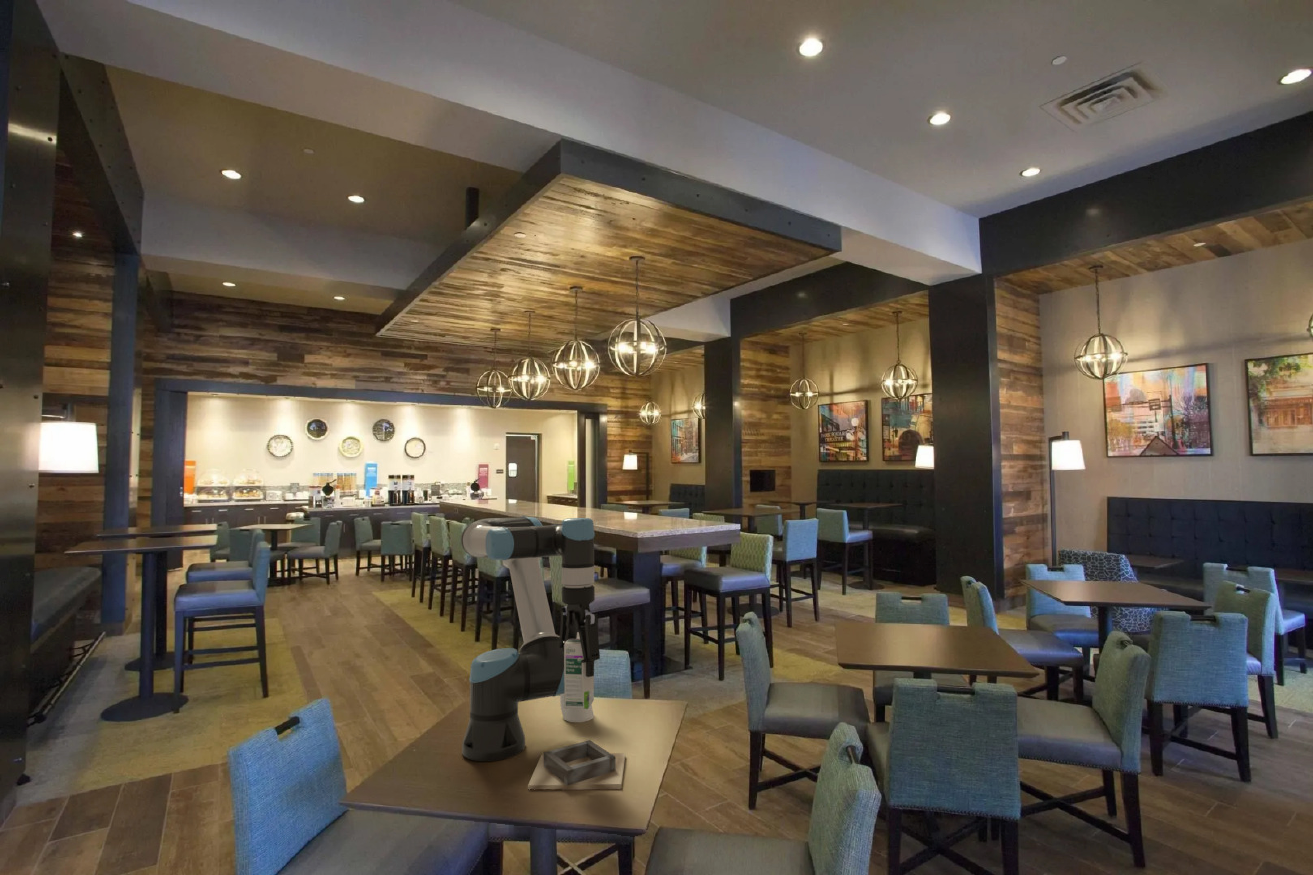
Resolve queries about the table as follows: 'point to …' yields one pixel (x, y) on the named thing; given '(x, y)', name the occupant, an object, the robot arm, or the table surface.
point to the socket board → (587, 784)
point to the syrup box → (575, 677)
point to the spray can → (575, 710)
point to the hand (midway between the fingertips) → (578, 685)
